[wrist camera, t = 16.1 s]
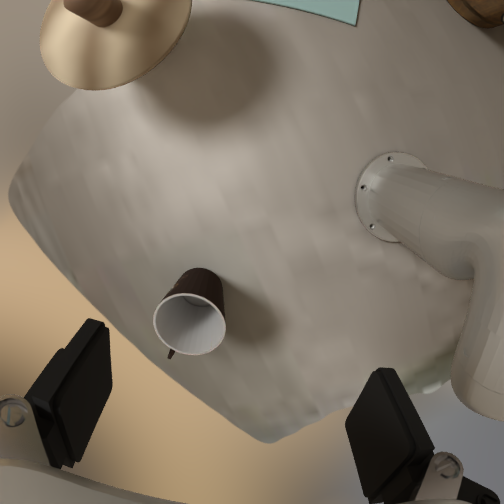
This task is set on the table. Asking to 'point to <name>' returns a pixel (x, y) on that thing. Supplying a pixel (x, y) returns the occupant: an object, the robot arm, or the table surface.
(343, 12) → the rubber mat
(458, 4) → the wooden container
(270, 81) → the table surface
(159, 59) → the maple lid
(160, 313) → the coffee mug
